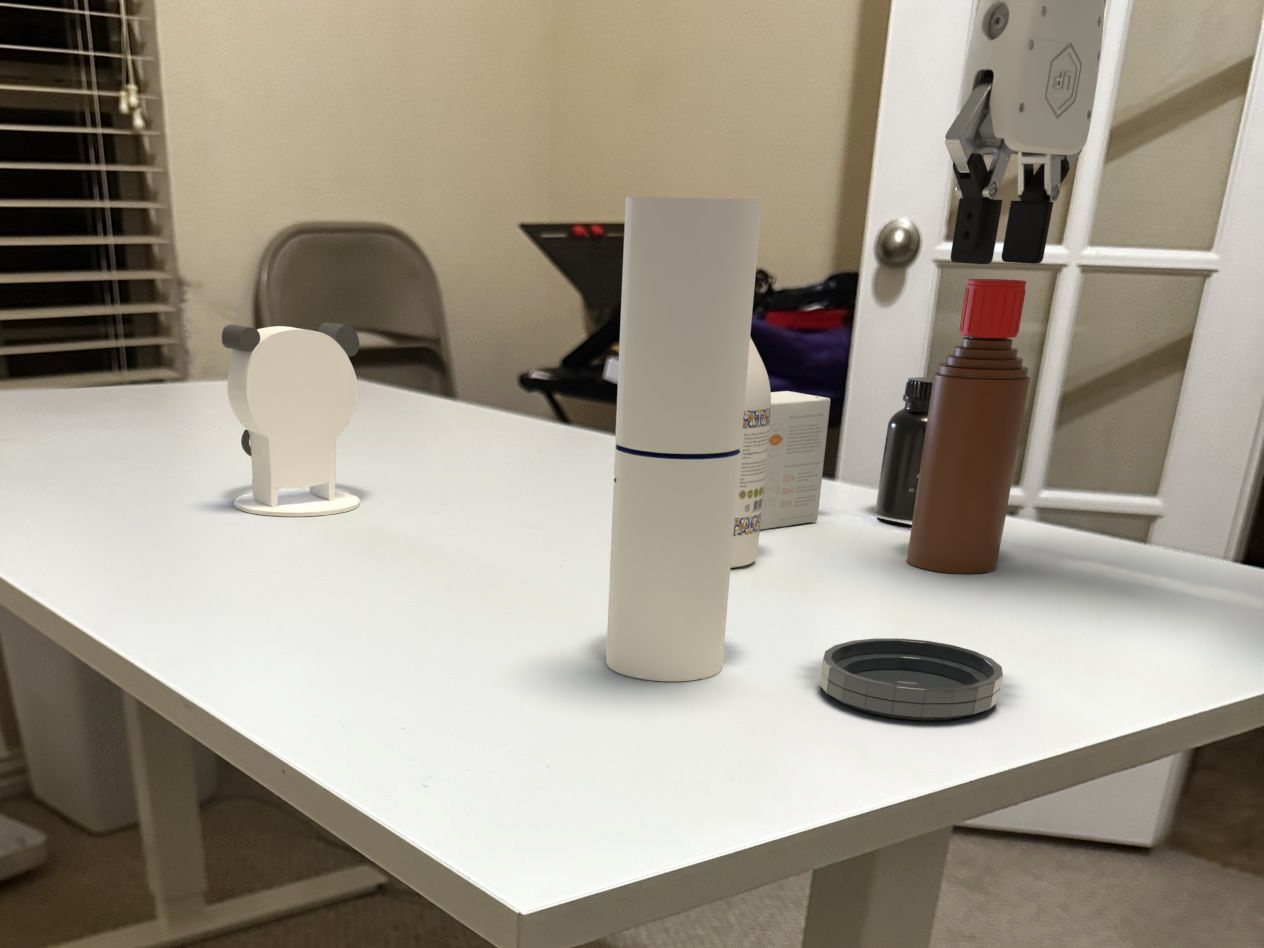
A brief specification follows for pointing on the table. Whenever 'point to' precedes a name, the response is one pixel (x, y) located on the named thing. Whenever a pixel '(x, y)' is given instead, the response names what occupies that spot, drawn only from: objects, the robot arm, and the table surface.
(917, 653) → the saucer
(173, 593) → the table surface
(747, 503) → the bath foam
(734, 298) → the cylindrical container
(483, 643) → the table surface
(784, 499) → the small box
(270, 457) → the panda figurine
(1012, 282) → the cap
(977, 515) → the bottle
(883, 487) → the supplement bottle
